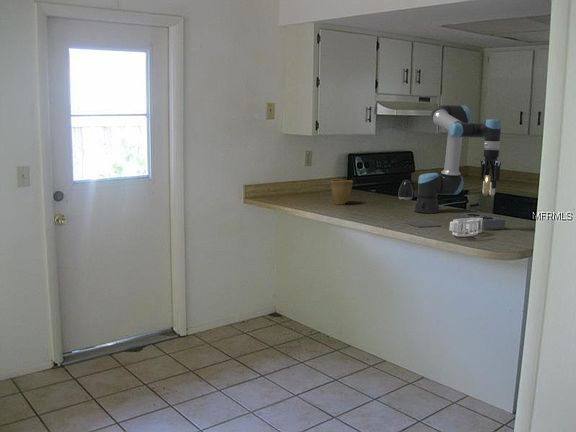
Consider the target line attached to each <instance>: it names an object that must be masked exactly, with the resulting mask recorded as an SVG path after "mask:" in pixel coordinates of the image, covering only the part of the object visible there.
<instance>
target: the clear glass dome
mask: <svg viewBox="0 0 576 432" xmlns="http://www.w3.org/2000/svg"><path fill="white" fill-rule="evenodd" d="M412 183H413V181H410V180H408V179H404V180H403V181H402V182H401V184H400V186H399V189H398V194H397V197H398V199H399V200H401V199H404V200H405V201H409V200H410V201H411V200H412V199H413V197H414V195H413V194H414V191H413V186H412Z"/></svg>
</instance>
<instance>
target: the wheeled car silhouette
mask: <svg viewBox="0 0 576 432" xmlns="http://www.w3.org/2000/svg"><path fill="white" fill-rule="evenodd" d="M479 221H481V224H480V229H479ZM482 221H483V218H464V219H456V218H454V219H453V220H452V221H450V222H449V231H451V232H452V234H451V235H453V236H456V237H474V236H478V235H479V234H480V233H483V230H482Z"/></svg>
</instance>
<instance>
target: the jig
mask: <svg viewBox="0 0 576 432" xmlns="http://www.w3.org/2000/svg"><path fill="white" fill-rule="evenodd" d="M464 218H483V221H482V231H493V230H494V231H495V230H505V226H506V219H504V218H500V217H495V216H491V215H486V214H482V213H479V212H478V213H477V212H470V213H469V212H467V213H465V212H464V213H456V215H455V219H464ZM480 224H481V221H479V229H478V230H480Z"/></svg>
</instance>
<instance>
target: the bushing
mask: <svg viewBox="0 0 576 432" xmlns="http://www.w3.org/2000/svg"><path fill="white" fill-rule="evenodd" d="M490 181H491V174H489V175H485V178H484V193H483V192H482V194H483V195H482V196H483V197H485V198H486V197H487V198H494V195H489V194H490Z"/></svg>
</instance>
